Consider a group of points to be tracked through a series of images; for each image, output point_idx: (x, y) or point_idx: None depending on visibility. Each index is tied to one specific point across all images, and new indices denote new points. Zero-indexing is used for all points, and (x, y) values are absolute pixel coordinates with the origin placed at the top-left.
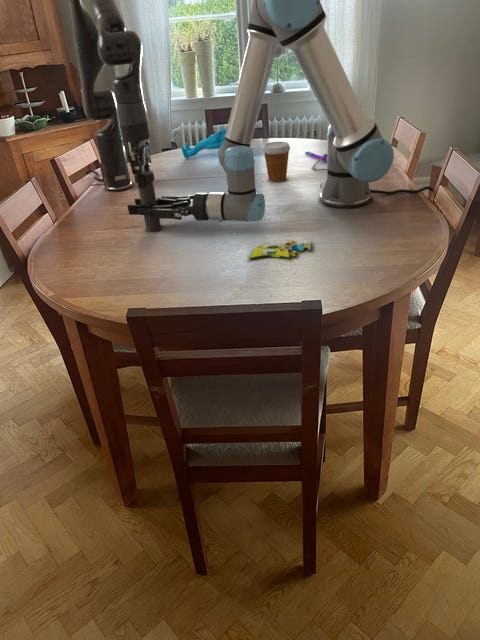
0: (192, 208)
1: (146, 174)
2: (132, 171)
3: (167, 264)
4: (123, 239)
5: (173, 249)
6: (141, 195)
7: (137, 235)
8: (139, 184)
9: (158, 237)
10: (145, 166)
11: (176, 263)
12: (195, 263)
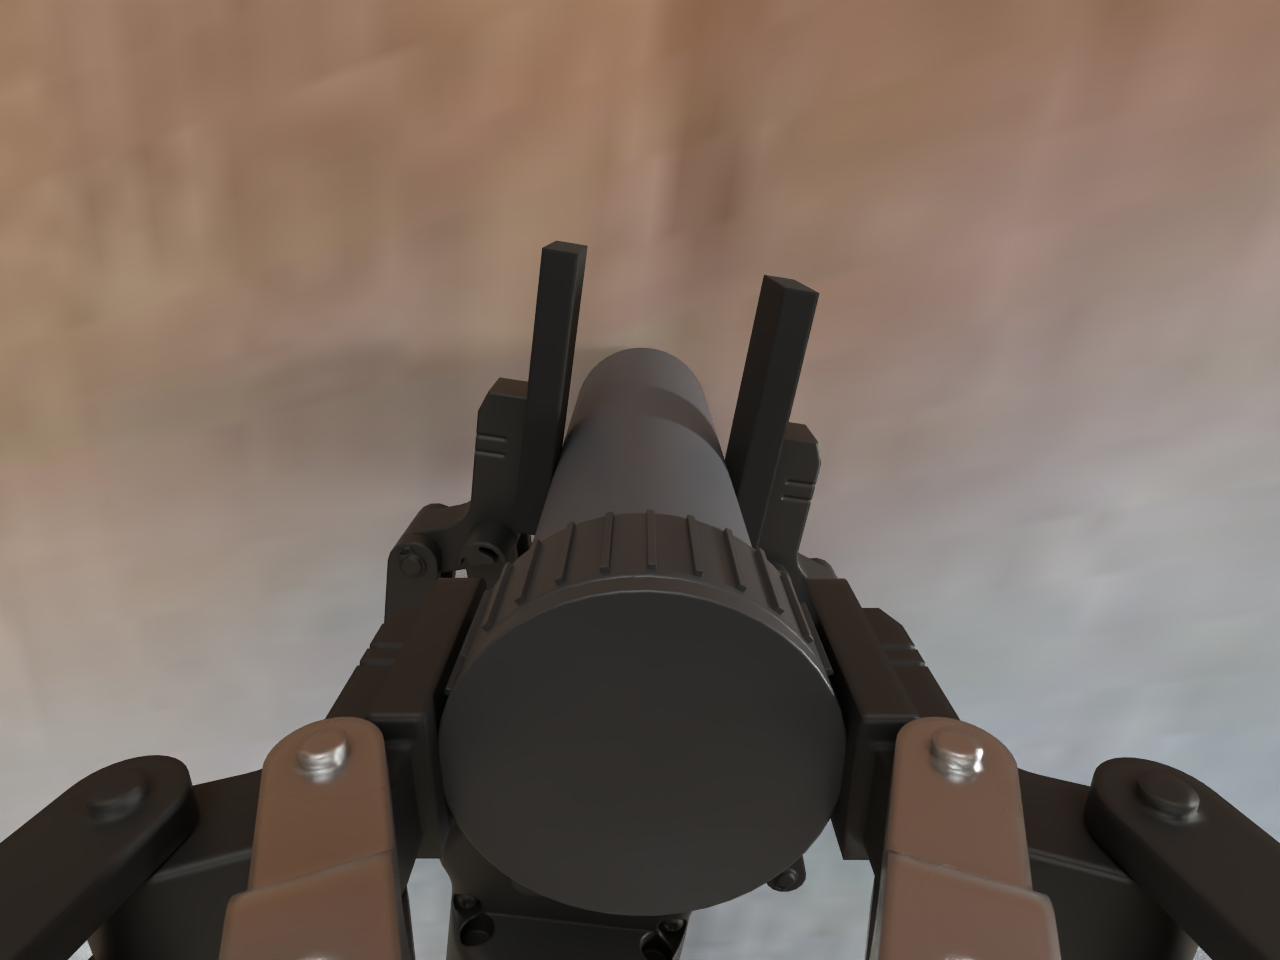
0: (451, 907)
1: (508, 845)
2: (22, 837)
3: (12, 636)
4: (416, 176)
5: (244, 633)
6: (551, 502)
7: (505, 294)
8: (381, 643)
9: (456, 488)
10: (876, 841)
11: (38, 685)
12: (63, 783)
